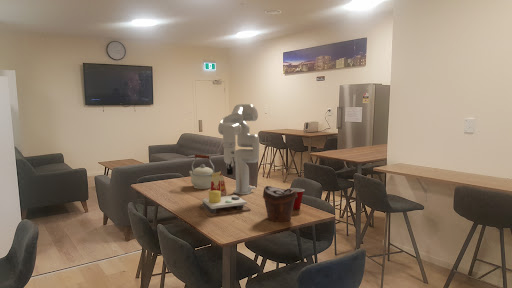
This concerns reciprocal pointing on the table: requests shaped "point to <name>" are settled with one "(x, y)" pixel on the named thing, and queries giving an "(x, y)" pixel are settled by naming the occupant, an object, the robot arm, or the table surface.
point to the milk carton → (218, 183)
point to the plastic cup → (298, 201)
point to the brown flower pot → (279, 203)
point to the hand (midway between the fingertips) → (229, 174)
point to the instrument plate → (222, 200)
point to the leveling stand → (223, 210)
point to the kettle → (202, 174)
